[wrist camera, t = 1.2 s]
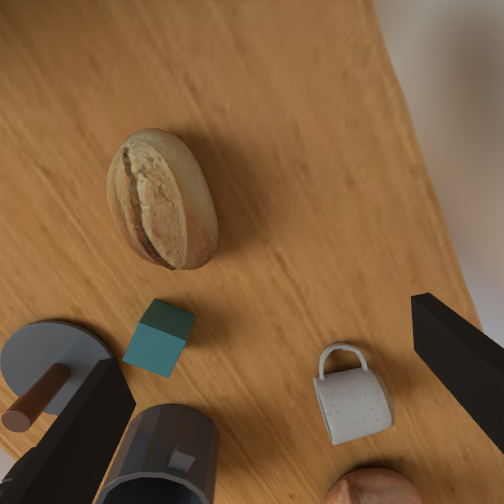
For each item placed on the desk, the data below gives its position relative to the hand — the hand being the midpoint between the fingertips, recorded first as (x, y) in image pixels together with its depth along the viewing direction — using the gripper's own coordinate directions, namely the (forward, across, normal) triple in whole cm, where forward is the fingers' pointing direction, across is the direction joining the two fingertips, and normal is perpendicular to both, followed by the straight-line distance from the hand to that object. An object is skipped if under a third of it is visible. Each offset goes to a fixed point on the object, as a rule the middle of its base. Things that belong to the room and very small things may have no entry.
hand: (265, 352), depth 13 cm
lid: (+22, -29, -12) cm, 38 cm away
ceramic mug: (+22, +7, -22) cm, 32 cm away
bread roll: (+22, -8, +5) cm, 24 cm away
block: (+22, -14, -9) cm, 28 cm away
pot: (+22, -19, -28) cm, 41 cm away
